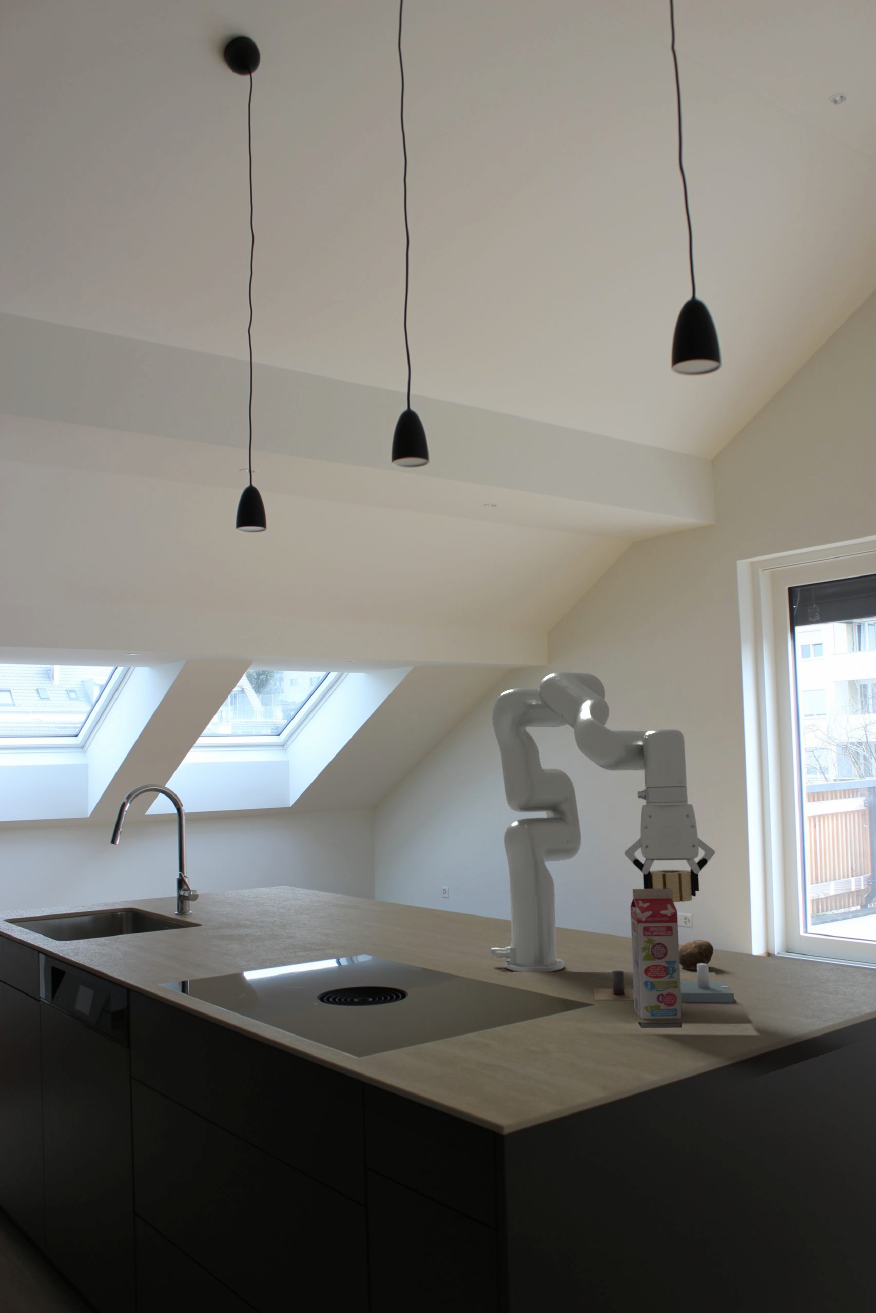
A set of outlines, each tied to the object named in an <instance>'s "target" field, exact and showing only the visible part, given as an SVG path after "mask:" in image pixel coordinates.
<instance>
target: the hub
mask: <svg viewBox="0 0 876 1313" xmlns="http://www.w3.org/2000/svg"><path fill="white" fill-rule="evenodd" d="M696 974H697V976H696V977H697V981H680V990H681V1003H735V993H734V991H733V990H732V989H731V988H730V986H729V985H728V984H727V983H726V982H725V981H710V974H709V963H708V964H703V963H700V964H697V969H696Z"/></svg>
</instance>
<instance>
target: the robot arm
mask: <svg viewBox="0 0 876 1313" xmlns="http://www.w3.org/2000/svg"><path fill="white" fill-rule="evenodd" d="M609 715H610V706H609V704H608V703H607V701H606V690H605V686H604V683H603V682H602V681H601V679H599V678H598V677H597V676H596V675H594V674H592V673H589V672H584V673H583V672H570V671H558V672H553V673H549V674H548V675H546V676H545V677H543V679H542V680H541V682H540V683H539V685H538V688H534V687H533V688H532V687H529V688H528V687H527V688H525V687H520V688H519V687H518V688H512V689H508V690H506V691H504V692H501V694H500V695H499V696H498V697H497V698H496V700H495V702H494V704H493V709H492V715H491V716H492V718H491V719H492V728H493V732H494V734H495V737H496V741H497V743H498V748H499V752H500V760H501V768H502V776H503V777H502V779H503V786H504V792H505V797H506V798H505V799H506V802H507V805H508V806H509V808H510V809H511V810H512V811H515V812H517V813H538V812H539V813H541V812H542V813H543V812H545V814H546V816H547V817H530V818H528V817H527V818H521V819H518V820H516V821H513V822H512V823H511V824H509V825H508V827H507V828H506V830H505V831H504V835H503V836H504V838H503V843H504V849H505V853H506V859H507V862H508V864H507V865H508V872H509V887H510V888H509V895H510V921H511V922H510V925H511V926H510V927H511V930H510V931H511V942H510V945H509V946H505V948H504V947H503V948H502V947H501V948H500V947H491V948H490V950H491V955H490V956H491V957H492V958H496V959H503V958H505V959H507V960H505V962H504V966H505V968H506V969H508V970H510V971H515V972H520V973H521V972H523V973H543V972H544V973H548V972H554V971H555V972H556V971H559V970H562V969H563V968H565V962H564V960H562V959H560V958H558V957H557V936H556V935H557V934H556V932H557V931H556V902H555V884H554V878H553V876H552V874H551V872H550V870H549V869H548V867H547V865H546V863H547V862H557V861H558V862H559V861H566V860H571V859H572V858H574V857H575V856H576V855H578V853H579V851H580V849H581V843H582V837H581V835H582V834H581V827H580V826H581V825H580V820H579V813H578V812H579V811H578V803H577V799H576V791H575V790H576V789H575V786H574V783H573V781H572V779H571V778H570V776H569V775H568V774H567V773H566V772H565V771H563V770H561V769H559V768H543V767H542V764H541V758H540V752H539V747H538V745H537V743H536V740H534V737H533V736H532V735H531V734H530V733H529V732H528V730H527V728H528V727H531V728H532V727H534V728H561V727H564V726H567V725H568V726H570V728H572V729H573V735H574V739H575V742H576V745H577V748H578V750H579V751H580V752H581V754H583V755H584V756H585V757H587V758H588V759H589V760H590V761H591V762H592V763H594V764H595V765H597V766H598V767H600V768H602V769H603V770H607V771H643V772H644V789H643V790H641V791H640V790H637V799H642V800H644V801H645V804H642V806H641V815H640V828H639V829H640V830H639V831H640V836H639V838H638V839H637V840H636V841H635V842H634V843H633V844H632V845H630V846H629V847H628V848H627V849H626V850H625V851H624V855H625V856H626V857H627V858H628V860H629V861H630V862H631V863H632V864H633V865H634V866H635V867H636V868H637V869H638V870H639V871H640V872H641V873H642V878H643V880H642V881H643V889H652V875H651V874H650V871H651V868H652V866H653V864H654V862H655V861H686V863H687V864H688V866H689V867H690V870H689V871H690V875H691V893H692V897H696V896H697V892H699V891H700V882H699V874H700V873H701V871H702V869H703V868H705V866H707V864H708V862H710V861H711V859H712V857H713V856H714V855H715V854H716V851H715V849H713V848H712V847H710V845H708V844H707V843H706V842H704V841H703V840H701V839H700V838H699V836H698V828H697V821H696V820H697V819H696V814H695V811H694V806H693V804H692V803H689V802H688V801H689V800H688V798H689V797H688V784H687V783H688V781H687V766H686V765H687V764H686V746H685V743H686V742H685V737H684V734H683V733H682V731H680V730H678V729H653V730H611V729H609V728H608V727H606V726H605V725H606V724H607V723H608V721H609V717H610V716H609ZM699 848H700V849H701V851H703V852H704V853H703V856H702V857H701V858H700V859H698V861H697V862H696V860H695V859H696V858H697V857H699V851H700V850H699ZM639 849H640V852H641V855H642V857H643V858H644V859H645V860H644V862H642V861H641V860H639V859H638V857H637V856H636V855H635V853H636V852H637V851H638V850H639Z"/></svg>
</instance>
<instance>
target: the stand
mask: <svg viewBox="0 0 876 1313" xmlns="http://www.w3.org/2000/svg"><path fill="white" fill-rule="evenodd" d="M592 989H593V990H592V991H593V995H594V996H593V998H594V1001H634V988H625V972H624V971H623V970H612V988H592Z"/></svg>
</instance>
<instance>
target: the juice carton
mask: <svg viewBox="0 0 876 1313" xmlns="http://www.w3.org/2000/svg"><path fill="white" fill-rule="evenodd" d="M672 898H673V893H672V890H671V889H644V888H632V901H631V904H630V928H631V930H630V931H631V953H632V955H631V957H632V979H633V982H632V983H633V989H634V1000H633V1003H634V1004H633V1005H634V1010H635V1012H636V1014H637V1016H639V1018H640V1019H641V1020H643V1019H644V1020H646V1019H647V1020H648V1019H651V1020H652V1019H658V1020H659V1019H663V1020H664V1019H682V1016H683V1015H682V1014H683V1012H682V1002H681V990H680V982H681V970H680V969H681V968H680V964H679V950H680V948H679V947H680V946H679V924H678V922H679V921H678V910H677V908H676V905H675V902H673V900H672ZM637 1024H638V1025H639V1027H640V1028H641V1029H657V1028H658V1029H661V1028H662V1029H664V1028H666V1029H667V1028H668V1029H669V1028H670V1029H671V1028H672V1029H674V1028H677V1029H678V1028H683V1023H682V1022H648V1021H647V1022H645V1021H644V1022H643V1021H642V1022H641V1021H638V1022H637Z"/></svg>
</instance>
